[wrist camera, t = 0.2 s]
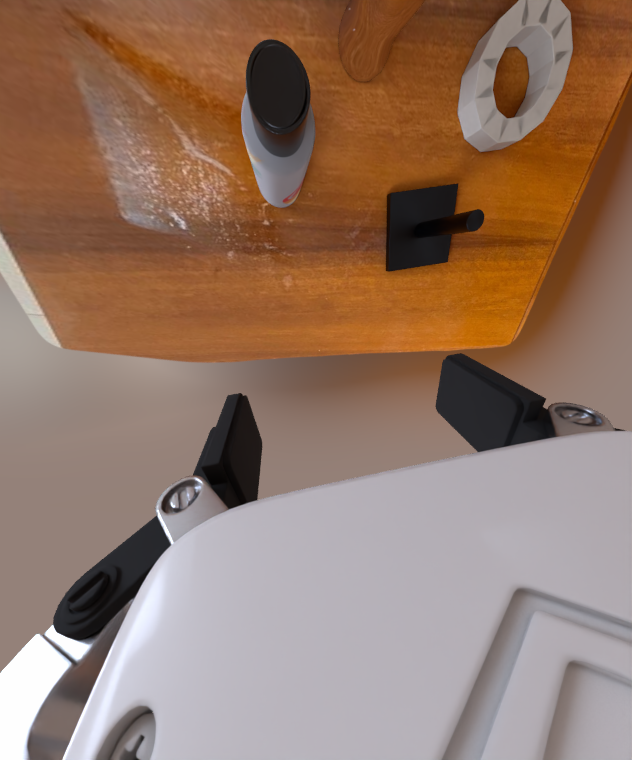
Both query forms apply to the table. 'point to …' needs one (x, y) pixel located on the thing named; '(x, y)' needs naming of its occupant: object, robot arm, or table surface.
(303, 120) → the lotion bottle
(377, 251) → the table surface
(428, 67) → the table surface
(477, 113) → the tape roll
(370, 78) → the beer glass
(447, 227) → the post
